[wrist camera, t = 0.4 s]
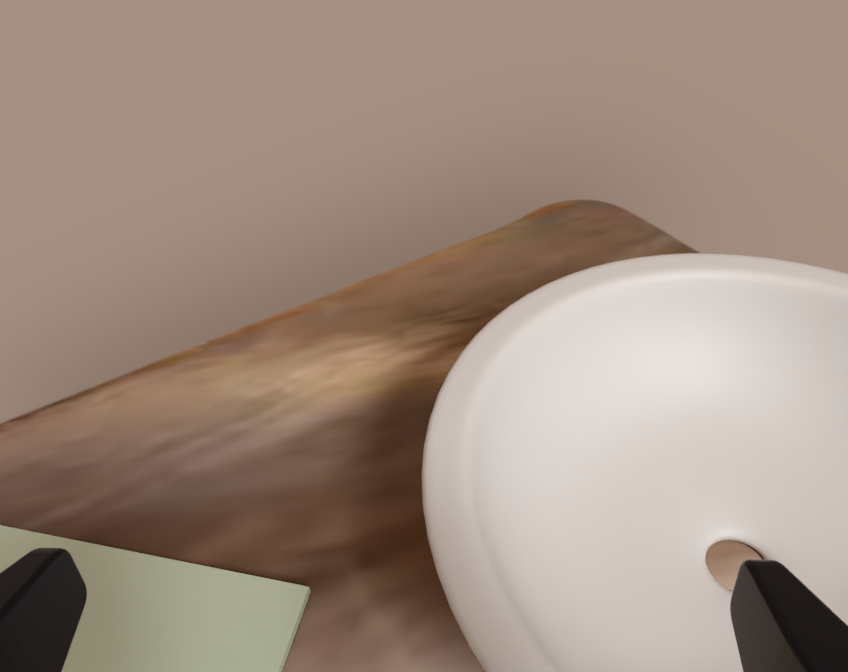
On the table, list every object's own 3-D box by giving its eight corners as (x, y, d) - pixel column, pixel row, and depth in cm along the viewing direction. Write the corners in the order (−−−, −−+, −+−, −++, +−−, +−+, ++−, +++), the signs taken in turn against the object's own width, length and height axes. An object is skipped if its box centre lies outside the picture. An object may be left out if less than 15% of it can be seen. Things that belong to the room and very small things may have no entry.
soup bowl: (352, 874, 19) (320, 815, 15) (476, 332, 37) (478, 231, 32) (1371, 1148, 15) (1750, 1178, 11) (966, 387, 32) (1046, 278, 28)
